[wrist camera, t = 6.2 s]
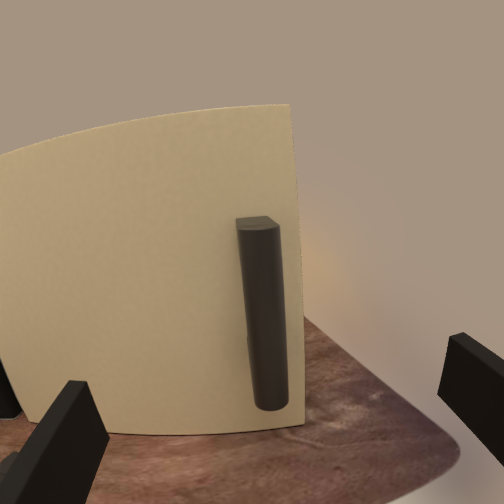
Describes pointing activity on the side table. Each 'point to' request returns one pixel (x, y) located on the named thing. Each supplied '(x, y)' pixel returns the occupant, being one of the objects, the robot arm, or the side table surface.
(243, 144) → the cupboard door
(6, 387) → the camera
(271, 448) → the side table surface
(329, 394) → the side table surface
